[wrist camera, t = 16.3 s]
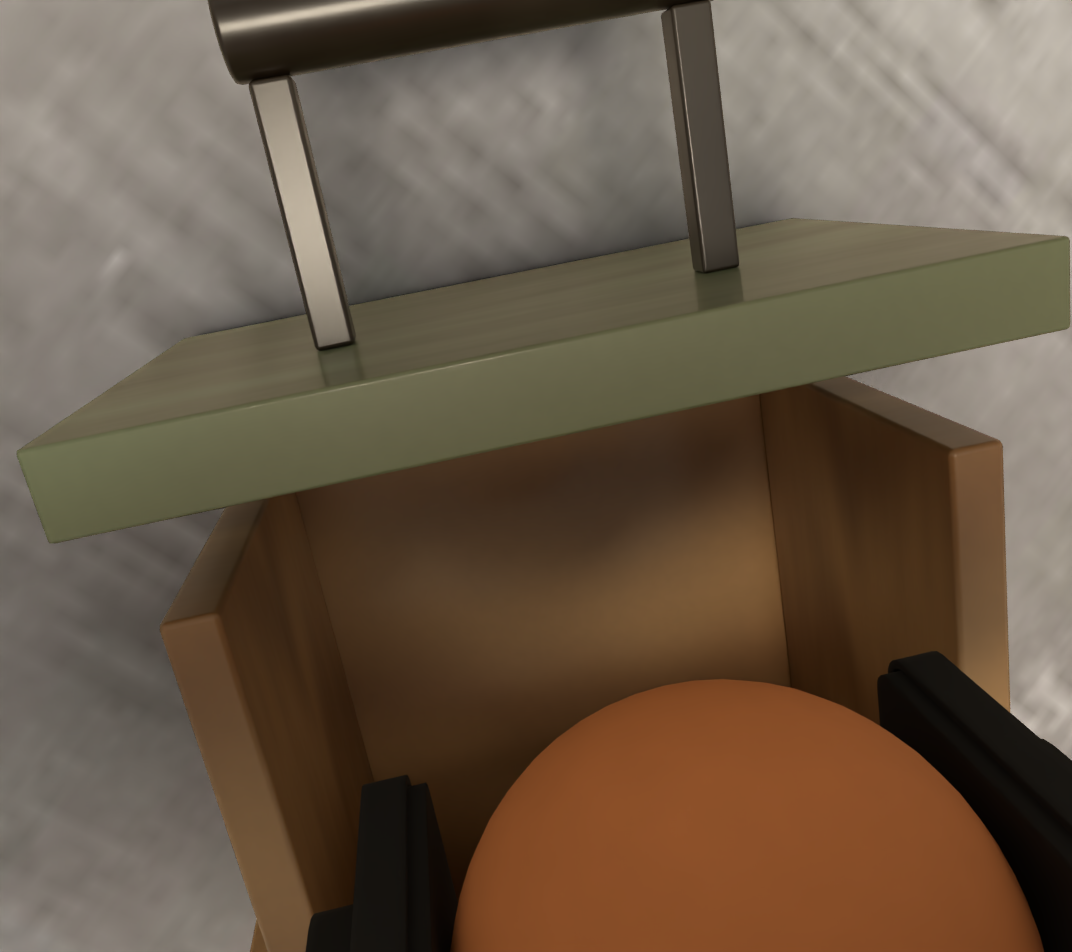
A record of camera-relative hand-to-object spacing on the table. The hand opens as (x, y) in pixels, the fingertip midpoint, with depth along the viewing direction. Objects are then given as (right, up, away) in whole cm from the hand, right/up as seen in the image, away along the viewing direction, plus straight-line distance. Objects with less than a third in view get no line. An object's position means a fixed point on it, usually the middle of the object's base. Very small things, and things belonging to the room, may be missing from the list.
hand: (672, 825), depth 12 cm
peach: (0, -1, -2) cm, 2 cm away
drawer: (-2, +4, +10) cm, 11 cm away
